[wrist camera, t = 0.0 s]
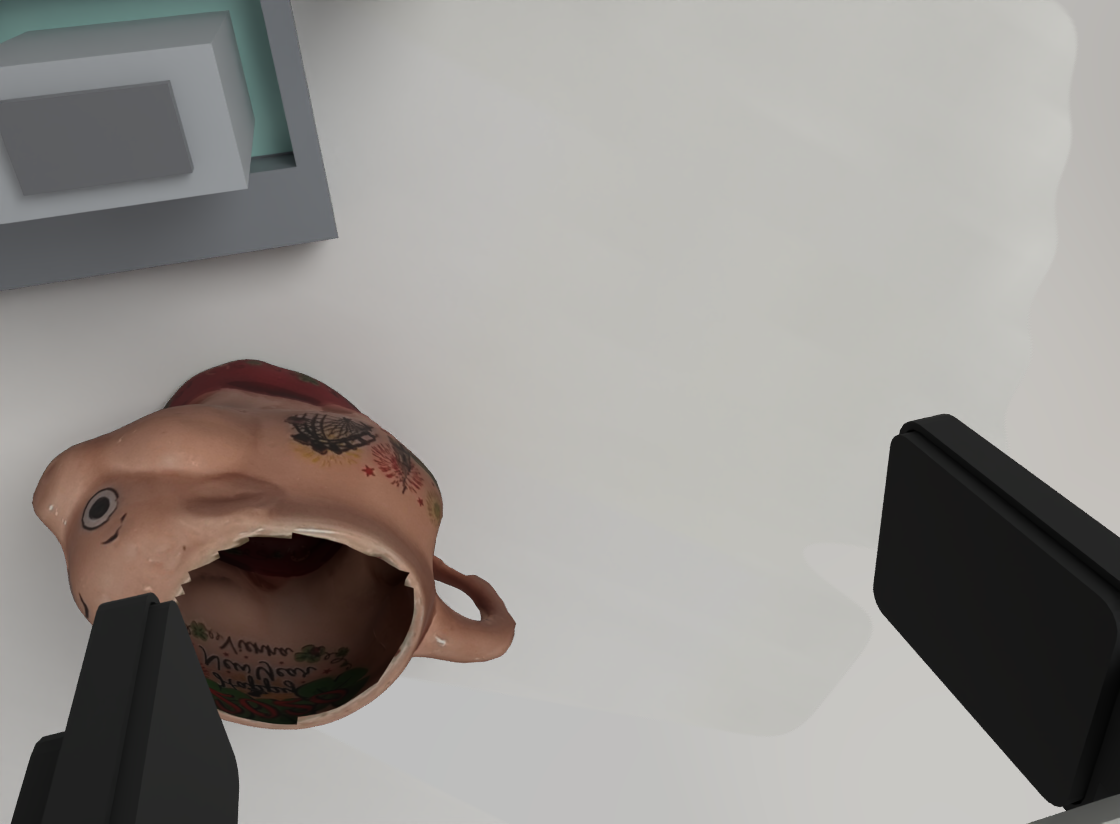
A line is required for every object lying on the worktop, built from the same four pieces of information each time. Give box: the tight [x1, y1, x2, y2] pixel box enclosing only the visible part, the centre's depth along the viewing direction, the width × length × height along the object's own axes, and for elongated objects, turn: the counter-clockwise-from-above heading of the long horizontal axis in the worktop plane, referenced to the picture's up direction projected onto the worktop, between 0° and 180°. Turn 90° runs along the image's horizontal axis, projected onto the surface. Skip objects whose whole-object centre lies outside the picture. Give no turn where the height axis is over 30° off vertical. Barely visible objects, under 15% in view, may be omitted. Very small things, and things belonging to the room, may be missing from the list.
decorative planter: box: [32, 359, 516, 729], centre depth 38 cm, size 20×12×14 cm, turn 63°
